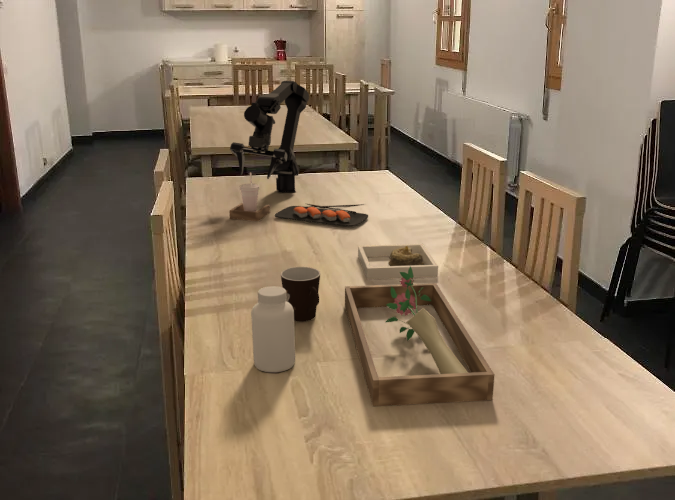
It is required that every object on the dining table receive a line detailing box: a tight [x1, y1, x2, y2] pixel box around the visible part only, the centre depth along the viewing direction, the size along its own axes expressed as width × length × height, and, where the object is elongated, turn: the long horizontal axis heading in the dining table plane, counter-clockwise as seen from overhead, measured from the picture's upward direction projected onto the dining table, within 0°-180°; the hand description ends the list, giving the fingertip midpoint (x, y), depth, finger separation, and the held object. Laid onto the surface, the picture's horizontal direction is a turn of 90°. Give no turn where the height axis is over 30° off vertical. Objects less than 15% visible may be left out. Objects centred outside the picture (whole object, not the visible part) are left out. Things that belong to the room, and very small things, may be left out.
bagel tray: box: [357, 243, 439, 281], centre depth 187 cm, size 18×18×3 cm
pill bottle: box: [250, 285, 296, 373], centre depth 134 cm, size 8×8×15 cm
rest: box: [228, 202, 271, 222], centre depth 232 cm, size 10×10×3 cm
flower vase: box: [385, 266, 469, 374], centre depth 140 cm, size 12×12×35 cm
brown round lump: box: [388, 246, 426, 266], centre depth 189 cm, size 10×10×5 cm
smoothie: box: [239, 172, 260, 212], centre depth 231 cm, size 6×6×14 cm
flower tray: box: [344, 282, 495, 407], centre depth 142 cm, size 21×43×5 cm, turn 6°
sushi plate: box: [274, 203, 369, 227], centre depth 236 cm, size 29×30×4 cm
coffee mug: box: [280, 266, 321, 323], centre depth 154 cm, size 12×9×10 cm
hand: (254, 176), depth 239 cm, fingers open, 9 cm apart
